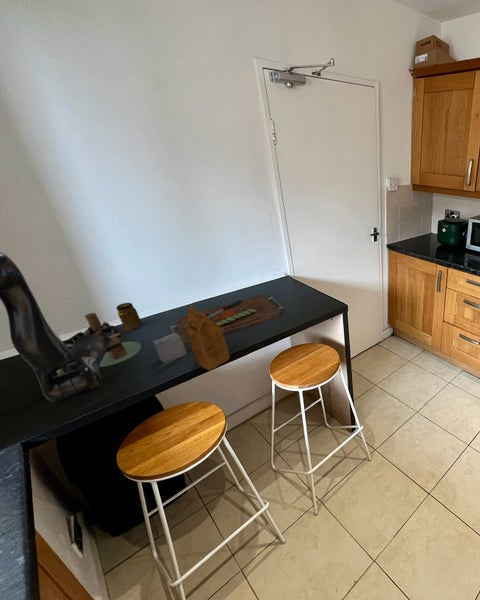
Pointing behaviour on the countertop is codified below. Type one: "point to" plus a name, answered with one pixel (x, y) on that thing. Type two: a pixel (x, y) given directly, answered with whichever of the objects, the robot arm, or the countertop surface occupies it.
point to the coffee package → (206, 340)
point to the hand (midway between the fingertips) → (99, 326)
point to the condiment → (129, 317)
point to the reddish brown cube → (117, 353)
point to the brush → (97, 325)
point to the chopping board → (236, 315)
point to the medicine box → (169, 347)
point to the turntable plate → (130, 349)
